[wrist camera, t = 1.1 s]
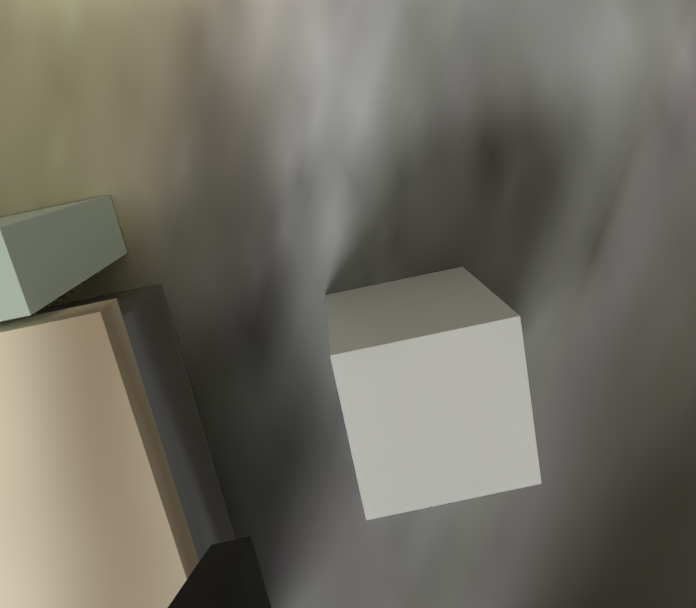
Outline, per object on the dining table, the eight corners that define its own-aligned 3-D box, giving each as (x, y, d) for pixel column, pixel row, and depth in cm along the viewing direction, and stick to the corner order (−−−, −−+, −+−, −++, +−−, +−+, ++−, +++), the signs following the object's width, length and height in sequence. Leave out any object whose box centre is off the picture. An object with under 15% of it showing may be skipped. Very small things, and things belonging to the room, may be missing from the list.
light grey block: (481, 393, 19) (541, 483, 14) (351, 420, 19) (366, 520, 14) (462, 266, 17) (520, 316, 13) (324, 294, 17) (330, 355, 13)
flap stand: (104, 176, 16) (-11, 198, 10) (254, 673, 21) (233, 882, 15) (-195, 237, 16) (-478, 295, 10) (21, 722, 21) (-90, 950, 15)
